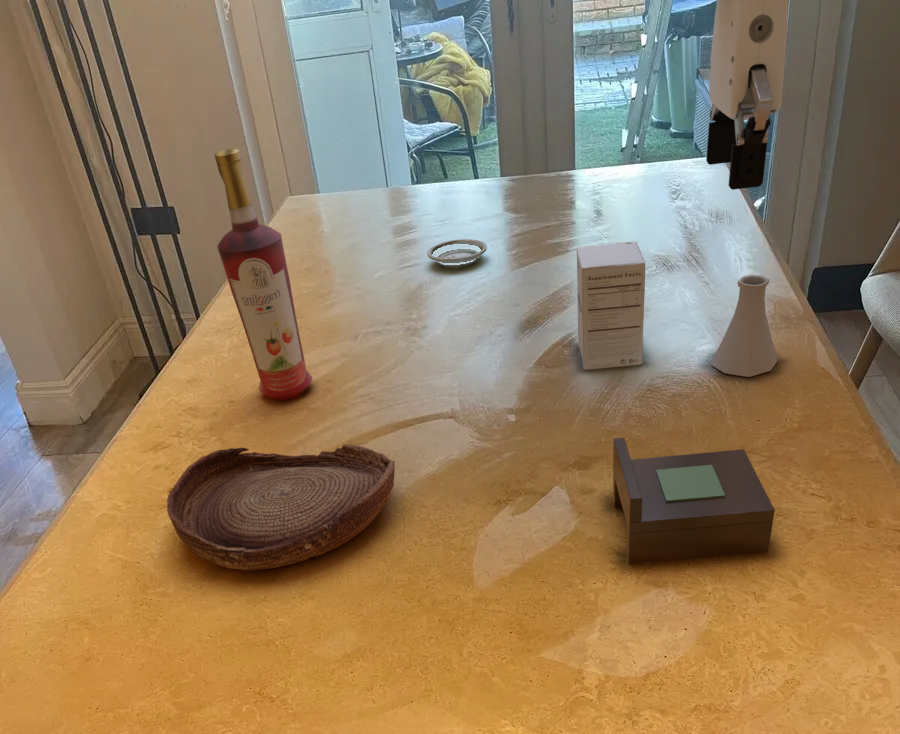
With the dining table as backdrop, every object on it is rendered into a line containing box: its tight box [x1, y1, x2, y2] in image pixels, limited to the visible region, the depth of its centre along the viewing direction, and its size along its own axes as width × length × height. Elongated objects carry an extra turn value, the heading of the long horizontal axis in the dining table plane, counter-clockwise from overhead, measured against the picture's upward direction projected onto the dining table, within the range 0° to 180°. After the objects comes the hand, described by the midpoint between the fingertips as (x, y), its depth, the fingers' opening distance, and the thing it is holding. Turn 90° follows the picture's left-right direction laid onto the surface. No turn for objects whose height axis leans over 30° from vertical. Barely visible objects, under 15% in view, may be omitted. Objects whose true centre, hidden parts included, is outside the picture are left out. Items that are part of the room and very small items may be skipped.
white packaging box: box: [576, 240, 646, 371], centre depth 102 cm, size 7×7×13 cm
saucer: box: [426, 238, 488, 270], centre depth 137 cm, size 10×10×2 cm
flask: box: [710, 274, 779, 378], centre depth 97 cm, size 7×7×10 cm
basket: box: [166, 444, 396, 571], centre depth 84 cm, size 22×20×5 cm
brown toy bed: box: [612, 437, 776, 565], centre depth 75 cm, size 12×10×7 cm
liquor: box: [213, 148, 313, 401], centre depth 100 cm, size 7×7×28 cm
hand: (732, 174), depth 88 cm, fingers open, 9 cm apart
